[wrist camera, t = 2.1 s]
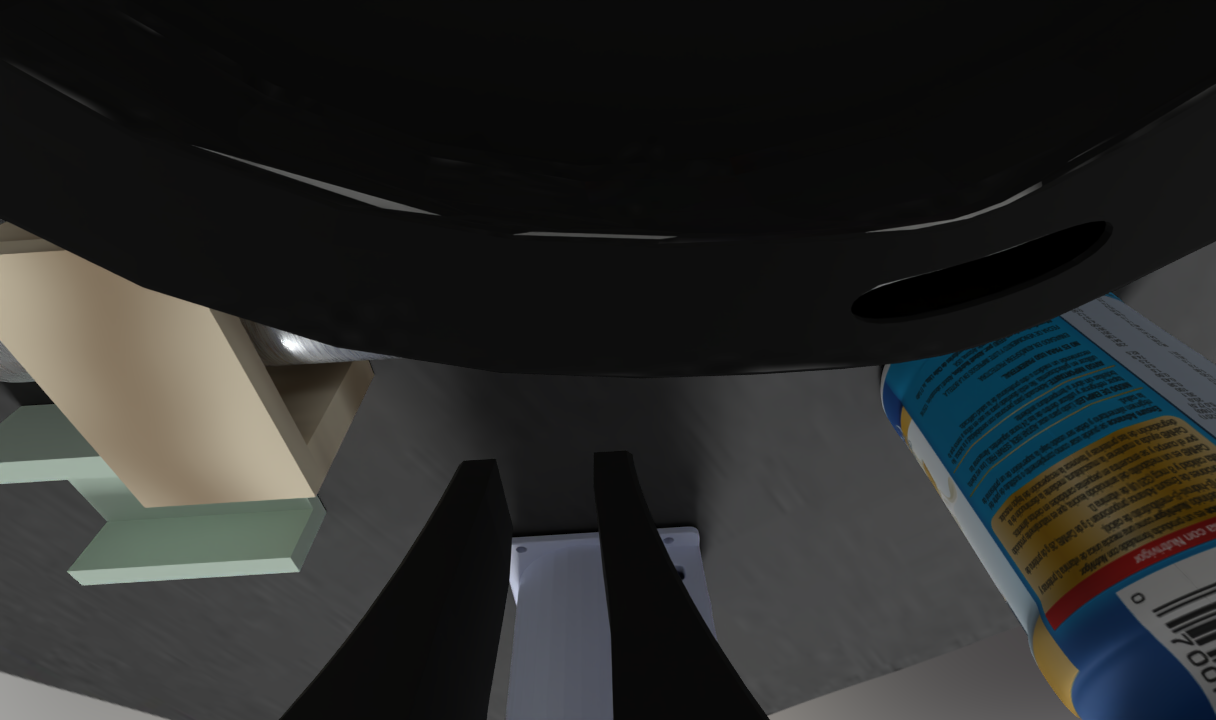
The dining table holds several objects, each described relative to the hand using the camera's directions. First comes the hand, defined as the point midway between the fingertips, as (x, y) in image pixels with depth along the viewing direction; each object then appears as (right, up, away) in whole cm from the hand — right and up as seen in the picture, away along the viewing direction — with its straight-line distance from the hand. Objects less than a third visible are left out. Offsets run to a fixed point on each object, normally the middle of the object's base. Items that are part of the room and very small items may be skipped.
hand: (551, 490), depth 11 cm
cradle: (-16, -2, +12) cm, 21 cm away
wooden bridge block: (-10, +5, +8) cm, 14 cm away
